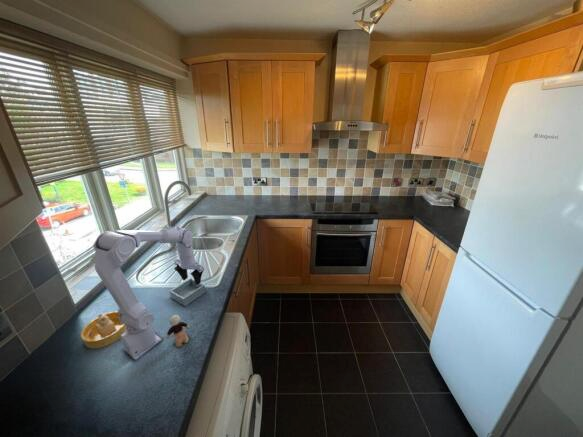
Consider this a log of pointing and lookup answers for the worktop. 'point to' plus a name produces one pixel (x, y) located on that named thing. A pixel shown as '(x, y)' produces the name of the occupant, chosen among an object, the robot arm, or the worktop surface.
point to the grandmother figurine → (178, 330)
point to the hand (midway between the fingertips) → (191, 281)
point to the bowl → (95, 339)
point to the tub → (187, 292)
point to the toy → (105, 326)
